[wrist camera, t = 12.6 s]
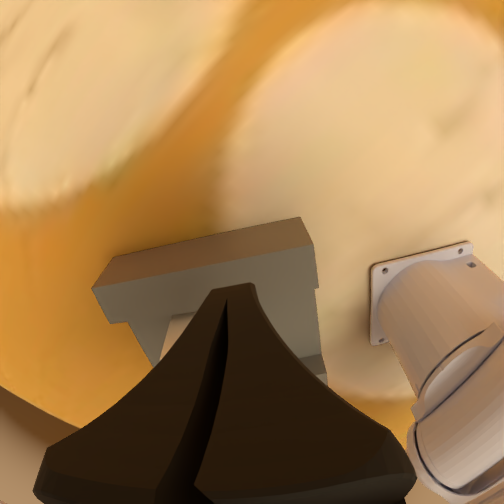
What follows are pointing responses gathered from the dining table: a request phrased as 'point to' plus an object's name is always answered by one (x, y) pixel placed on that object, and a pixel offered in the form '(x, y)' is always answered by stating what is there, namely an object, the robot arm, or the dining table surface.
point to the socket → (219, 284)
